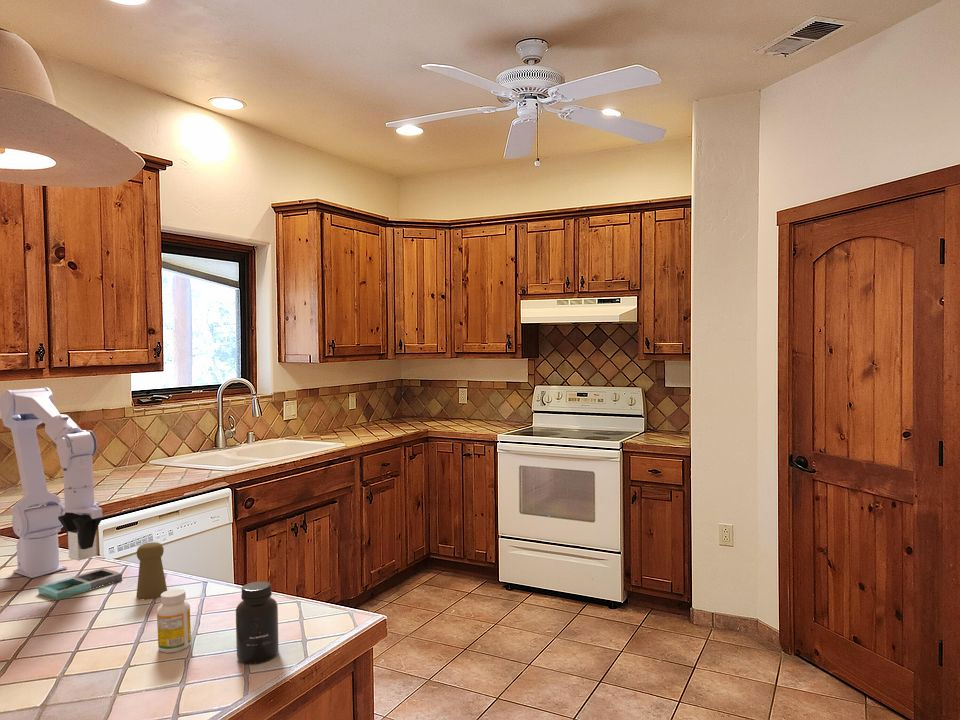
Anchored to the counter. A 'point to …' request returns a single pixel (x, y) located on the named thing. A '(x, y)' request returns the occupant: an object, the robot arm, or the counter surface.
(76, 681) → the counter surface
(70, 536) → the beige rectangular block
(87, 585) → the grey teal tray
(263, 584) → the supplement bottle
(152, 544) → the cork
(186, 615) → the supplement bottle
